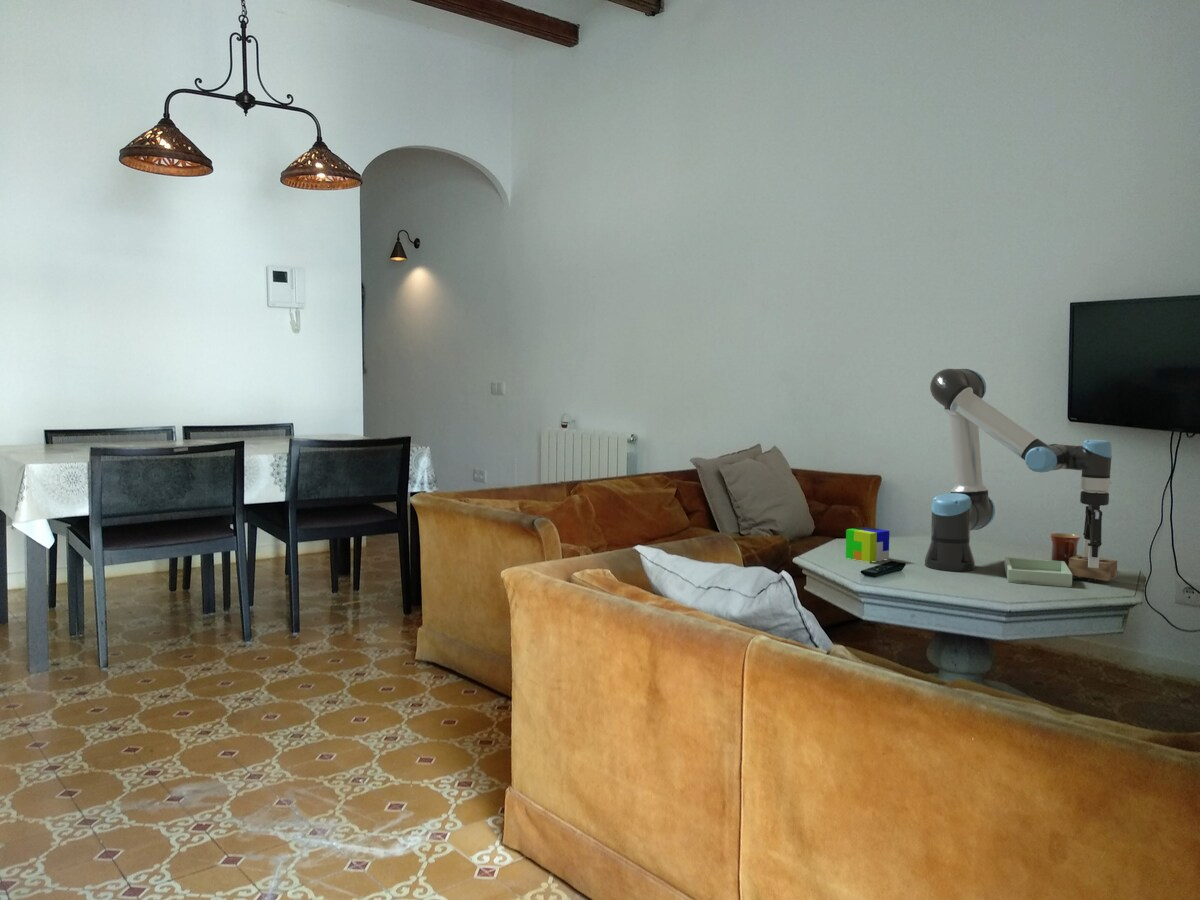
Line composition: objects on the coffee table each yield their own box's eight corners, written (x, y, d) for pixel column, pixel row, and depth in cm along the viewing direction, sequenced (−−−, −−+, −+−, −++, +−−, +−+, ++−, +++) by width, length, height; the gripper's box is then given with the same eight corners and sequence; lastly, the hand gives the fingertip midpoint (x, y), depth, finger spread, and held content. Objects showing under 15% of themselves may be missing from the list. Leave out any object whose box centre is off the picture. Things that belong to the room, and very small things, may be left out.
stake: (1081, 580, 263) (1082, 558, 263) (1080, 578, 265) (1081, 557, 265) (1101, 581, 261) (1102, 560, 261) (1100, 580, 263) (1101, 558, 263)
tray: (1008, 582, 261) (1008, 569, 261) (1004, 568, 279) (1004, 557, 279) (1071, 587, 255) (1072, 574, 254) (1063, 573, 273) (1064, 561, 273)
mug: (1045, 563, 289) (1046, 532, 288) (1073, 564, 287) (1075, 533, 286) (1056, 570, 277) (1057, 539, 276) (1086, 571, 275) (1087, 539, 274)
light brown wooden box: (1116, 576, 262) (1117, 560, 261) (1108, 580, 256) (1109, 564, 256) (1077, 570, 270) (1077, 554, 269) (1068, 574, 264) (1069, 558, 264)
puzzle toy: (888, 559, 294) (889, 530, 293) (869, 563, 288) (870, 533, 288) (864, 555, 302) (865, 526, 301) (845, 558, 297) (846, 529, 296)
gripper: (1115, 496, 249) (1111, 572, 251) (1103, 487, 270) (1099, 558, 272) (1086, 495, 252) (1081, 570, 254) (1076, 486, 273) (1072, 555, 275)
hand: (1090, 564), depth 263 cm, fingers closed on light brown wooden box, 10 cm apart
